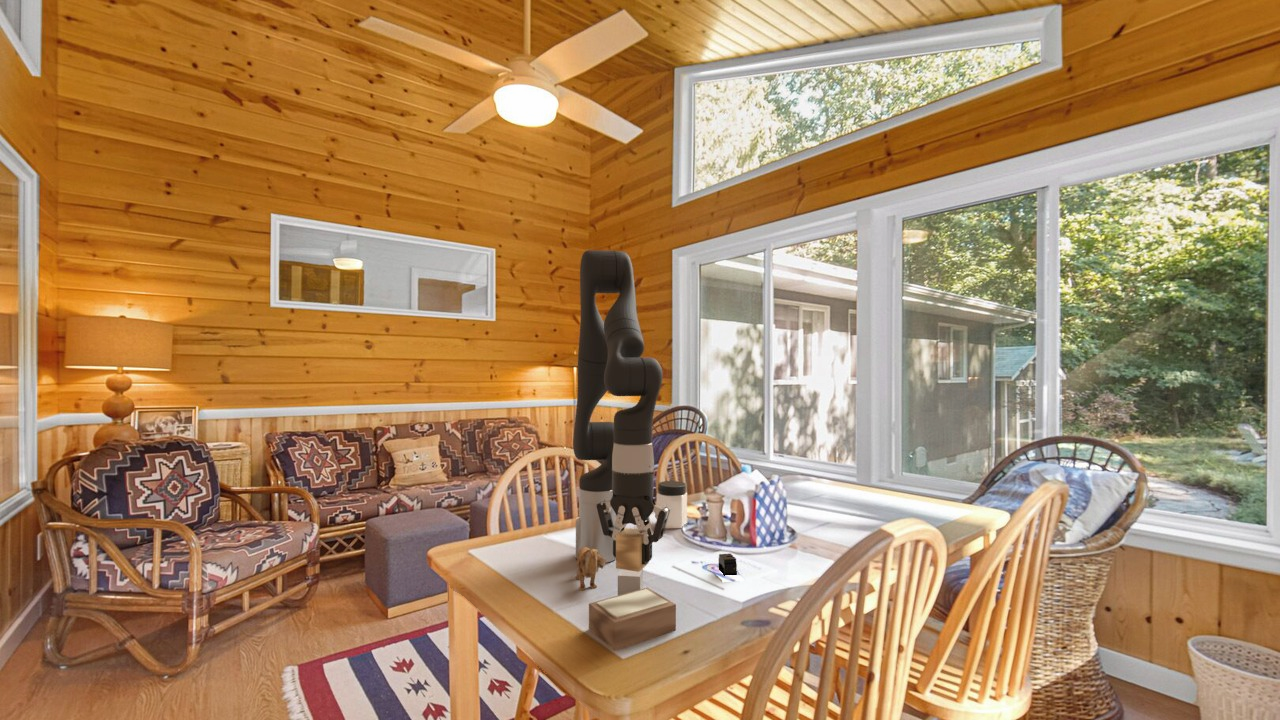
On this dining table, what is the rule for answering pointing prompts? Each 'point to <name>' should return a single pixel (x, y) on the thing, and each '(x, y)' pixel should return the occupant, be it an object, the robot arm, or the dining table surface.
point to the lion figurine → (588, 566)
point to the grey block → (629, 581)
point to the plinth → (631, 617)
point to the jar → (673, 502)
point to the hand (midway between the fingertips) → (632, 560)
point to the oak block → (629, 550)
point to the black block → (727, 564)
